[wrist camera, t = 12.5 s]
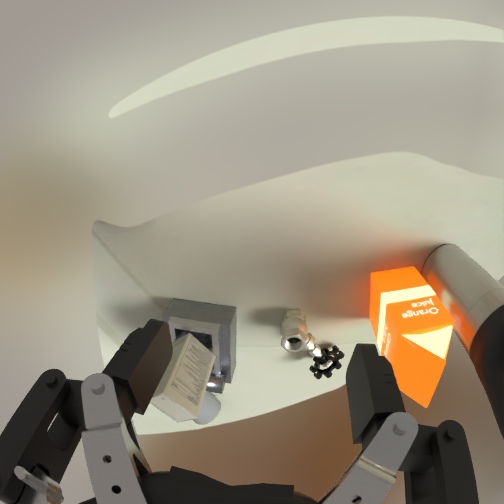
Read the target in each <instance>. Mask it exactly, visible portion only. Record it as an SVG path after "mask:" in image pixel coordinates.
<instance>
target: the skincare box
mask: <svg viewBox="0 0 504 504" xmlns="http://www.w3.org/2000/svg"><path fill="white" fill-rule="evenodd" d="M172 346H173V354H172V358H171V361H170V363H169V365H168V367H167V369H166V371H165V373H164V375H163V377H162V379H161V381H160V383H159V385H158V387H157V389H156V391H155V393H154V395H153V397H152V399H151V401H150V403H151V404H152V405H153V406H155V407H156V408H158V409H159V410H160V411H162V412H163V413H165V414H166V415H168V416H169V417H171V418H172V419H174V420H175V421H177V422H182V421H188V420H193V419H197V417H198V414H199V410H200V407H201V404H202V400H203V397H204V394H205V391H206V387H207V384H208V381H209V378H210V374H211V371H212V368H213V365H214V361H215V358H216V356H215V355H214V354H213V353H211V352H210V351H209V350H208V349H207V348H206V347H205V346H204V345H203V344H202V343H200V342H199V341H198V340H197V339H196V338H195V337H194V336H193V335H192V334H190V333H188V334H186V335H184V336H182V337H180V338H179V339H177V340H175V341H174V342H173V343H172Z"/></svg>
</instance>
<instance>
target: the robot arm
mask: <svg viewBox="0 0 504 504" xmlns="http://www.w3.org/2000/svg"><path fill="white" fill-rule="evenodd" d="M422 277H423V278H424V280H425V281H426V282H427V284H428V285H429V286H430V287H431V288H432V289H433V291H434V292H435V293H436V296H437V297H438V298H439V300H440V301H441V302H442V304H443V305H444V307H445V308H446V309H447V311H448V312H449V314H450V315H451V317H452V318H453V319H454V321H455V322H454V326H453V331H454V332H455V334H456V335H457V337H458V339H459V340H460V342H461V343H462V345H463V347H464V348H465V350H466V352H467V353H468V355H469V357H470V359H471V360H472V362H473V364H474V366H475V369H476V372H477V374H478V377H479V378H480V381H481V382H482V385H483V387H484V389H485V391H486V394H487V396H488V399H489V401H490V404H491V407H492V409H493V412H494V415H495V418H496V421H497V424H498V426H499V429H500V432H501V434H502V436H503V439H504V288H503V287H502V286H501V285H500V284H499V283H498V282H497V281H496V280H495V279H494V278H493V277H492V276H491V275H490V274H489V273H488V272H487V271H486V270H485V269H483V268H482V267H481V266H480V265H479V264H478V263H477V262H476V261H474V260H473V259H472V258H471V257H470V256H469V255H468V254H466V253H465V252H464V251H463V250H462V249H460V248H459V247H458V246H456V245H452V244H447V245H443V246H441V247H439V248H437V249H436V250H435V251H434V252H433V253H432V254H431V255H430V256H429V257H428V259H427V261H426V262H425V265H424V267H423V271H422ZM172 354H173V346H172V341H171V335H170V329H169V324H168V323H167V322H165V321H159V320H154V319H150V320H149V321H148V322H147V324H146V325H145V327H144V328H143V329H142V328H138V329H136V330H135V331H133V332H132V333H130V334H129V336H128V337H127V338H126V340H125V341H124V343H123V344H122V345H121V347H120V348H119V350H118V351H117V352H116V353H115V355H114V356H113V358H112V359H111V360H110V362H109V363H108V365H107V366H106V368H105V369H104V370H103V372H102V373H97V374H92V375H90V376H88V377H87V378H86V379H85V380H84V381H80V380H70V379H66V377H65V375H64V373H63V372H62V371H60V370H58V369H50V370H47V371H45V372H44V373H43V374H42V375H41V376H40V377H39V379H38V380H37V381H36V383H35V384H34V385H33V387H32V388H31V390H30V391H29V393H28V394H27V395H26V397H25V398H24V400H23V401H22V403H21V404H20V406H19V407H18V408H17V410H16V412H15V413H14V415H13V416H12V418H11V419H10V421H9V422H8V424H7V426H6V427H5V429H4V430H3V432H2V434H1V436H0V500H1V501H2V502H3V503H5V504H61V503H62V502H63V500H64V497H63V495H62V491H61V487H60V486H59V483H60V481H61V479H62V477H63V475H64V472H65V470H66V468H67V466H68V464H69V462H70V460H71V457H72V455H73V453H74V451H75V449H76V447H77V445H78V443H79V441H80V439H81V437H82V442H83V447H84V452H85V457H86V462H87V467H88V471H89V474H90V479H91V483H92V486H93V490H94V493H95V497H94V498H92V499H89V500H87V501H84V502H81V503H79V504H381V503H382V501H383V500H384V498H385V497H386V495H387V494H388V492H389V491H390V489H391V487H392V486H393V484H394V482H395V480H396V477H395V474H396V472H397V471H404V480H405V497H406V504H479V500H478V493H477V487H476V480H475V474H474V469H473V464H472V460H471V455H470V451H469V447H468V443H467V439H466V435H465V432H464V429H463V427H462V426H461V425H460V424H459V423H458V422H456V421H453V420H446V421H444V422H442V423H441V424H440V425H439V426H438V427H431V426H425V425H420V424H417V421H416V420H415V418H414V417H412V416H411V415H409V414H408V413H406V411H405V408H404V404H403V401H402V397H401V393H400V390H399V386H398V383H397V380H396V377H395V376H394V374H395V373H394V370H393V367H392V364H391V363H390V362H389V361H388V359H387V358H386V357H385V356H379V355H378V352H377V348H376V346H375V344H357V345H356V347H355V349H354V352H353V355H352V357H351V360H350V363H349V365H348V368H347V372H346V385H347V393H348V401H349V409H350V417H351V427H352V436H353V444H358V443H362V451H361V452H360V453H359V454H358V456H357V457H356V458H355V460H354V461H353V462H352V464H351V465H350V466H349V467H348V469H347V470H346V471H345V472H344V474H343V475H342V476H341V477H340V478H339V480H338V481H337V482H336V483H335V484H334V485H333V486H332V487H331V488H330V489H329V491H327V493H326V494H325V495H324V496H323V497H322V498H321V499H320V500H319V501H318V502H317V501H315V500H314V499H312V498H311V497H309V496H307V495H305V494H302V493H299V492H296V491H294V485H279V484H266V483H261V484H251V485H238V486H230V485H227V484H224V483H222V482H219V481H217V480H215V479H212V478H210V477H208V476H206V475H203V474H201V473H198V472H193V471H189V470H185V469H182V468H178V467H174V466H172V467H171V469H170V471H160V472H152V470H151V468H150V466H149V464H148V462H147V460H146V458H145V456H144V454H143V451H142V448H141V445H140V443H139V440H138V437H137V433H136V430H135V427H134V424H133V420H132V416H133V414H134V412H136V413H139V414H142V415H144V413H145V411H146V409H147V407H148V405H149V403H150V401H151V399H152V397H153V395H154V393H155V391H156V389H157V387H158V385H159V383H160V381H161V379H162V377H163V375H164V373H165V371H166V369H167V367H168V365H169V363H170V361H171V358H172ZM57 413H58V415H57V416H56V418H55V420H54V421H53V423H52V425H51V427H50V428H49V430H48V427H49V425H50V423H51V422H52V420H53V418H54V417H55V415H56V414H57ZM47 430H48V432H47Z"/></svg>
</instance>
